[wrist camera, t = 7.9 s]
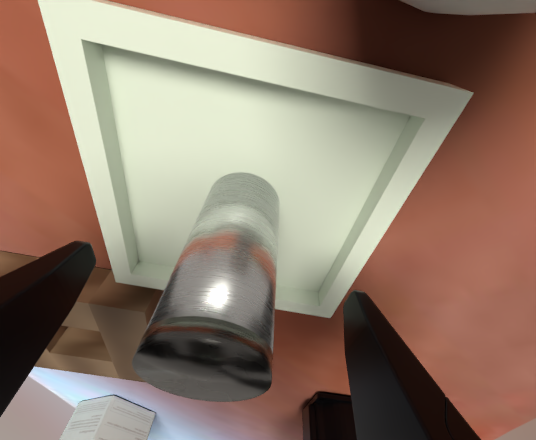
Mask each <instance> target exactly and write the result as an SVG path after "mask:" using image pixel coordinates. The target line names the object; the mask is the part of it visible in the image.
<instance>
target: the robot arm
mask: <svg viewBox="0 0 536 440" xmlns="http://www.w3.org/2000/svg"><path fill="white" fill-rule="evenodd" d="M95 264H96V258H95V255H94V252H93V248H92V246H91V244H90V243H88V242H83V241H74V242H71V243H69V244H67V245H65V246H63V247H61V248H59V249H57V250H55V251H53V252H51V253H48V254H46V255H44V256H42V257H40V258H38V259H36V260H34V261H32V262H30V263H28V264H26V265H23V266H21V267H19V268H17V269H15V270H13V271H11V272H9V273H7V274H5V275H3V276H1V277H0V417H1V415H2V414H3V412H4V411H5V409H6V408H7V406H8V405H9V403H10V402H11V400H12V399H13V397H14V396H15V394H16V393H17V391H18V390H19V388H20V387H21V385H22V384H23V382H24V381H25V379H26V378H27V376H28V375H29V373H30V372H31V370H32V369H33V367H34V366H35V364H36V363H37V361H38V360H39V358H40V357H41V355H42V354H43V352H44V351H45V349H46V348H47V346H48V345H49V343H50V342H51V340H52V339H53V337H54V336H55V334H56V333H57V331H58V330H59V328H60V327H61V325H62V324H63V322H64V321H65V319H66V318H67V316H68V315H69V313H70V311H71V310H72V308H73V307H74V305H75V303H76V301H77V299H78V297H79V296H80V294H81V292H82V290H83V288H84V286H85V284H86V282H87V280H88V278H89V276H90V274H91V273H92V271H93V269H94V267H95ZM343 314H344V345H345V357H346V364H347V371H348V378H349V385H350V393H351V397H347V396H340V395H333V394H326V393H318V394H316V395H315V397H314V398H313V399H312V400H311V401H310V402H309V403H308V405H307V406H306V407H305V408H304V409H303V410H302V419H303V440H481V439H480V438H479V436H478V435H477V434H476V433H475V432H474V430H473V429H472V428H471V427H470V425H469V424H468V423H467V422H466V420H465V419H464V418H463V417H462V415H461V414H460V413H459V412H458V410H457V409H456V408H455V407H454V405H453V404H452V403H451V401H450V400H449V399H448V398H447V397H445V394H444V393H443V391H442V390H441V389H440V387H439V386H438V385H437V384H436V382H435V381H434V380H433V378H432V377H431V376H430V375H429V373H428V372H427V371H426V369H425V368H424V367H423V366H422V364H421V363H420V362H419V360H418V359H417V358H416V357H415V355H414V354H413V353H412V351H411V350H410V349H409V348H408V346H407V345H406V344H405V342H404V341H403V340H402V338H401V337H400V336H399V335H398V333H397V332H396V331H395V329H394V328H393V327H392V326H391V324H390V323H389V322H388V320H387V319H386V318H385V317H384V315H383V314H382V313H381V311H380V310H379V309H378V308H377V306H376V305H375V304H374V302H373V301H372V300H371V299H370V297H369V296H368V295H367V294H366V293H365V292H363V291H357V290H354V291H352V292H351V294H350V295H349V297H348V298H347V300H346V302H345V303H344V307H343Z"/></svg>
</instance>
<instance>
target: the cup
mask: <svg viewBox="0 0 536 440" xmlns="http://www.w3.org/2000/svg"><path fill="white" fill-rule="evenodd" d="M400 1H402V2H404V3H406V4H409V5H411V6H413V7H415V8H418V9H420V10H422V11H424V12H430V13H441V14H457V15H489V14H517V13H536V0H400Z"/></svg>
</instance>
